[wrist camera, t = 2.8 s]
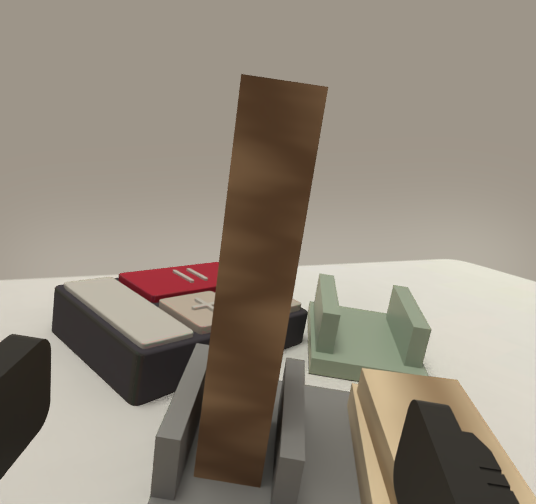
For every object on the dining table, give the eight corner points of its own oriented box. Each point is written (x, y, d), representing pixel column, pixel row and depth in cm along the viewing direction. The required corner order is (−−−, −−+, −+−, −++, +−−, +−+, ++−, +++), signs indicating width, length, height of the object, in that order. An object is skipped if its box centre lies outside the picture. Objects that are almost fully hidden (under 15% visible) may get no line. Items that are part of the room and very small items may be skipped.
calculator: (312, 302, 38) (141, 342, 27) (301, 353, 39) (132, 411, 28) (219, 257, 45) (52, 274, 34) (212, 301, 46) (49, 332, 35)
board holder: (308, 373, 34) (319, 317, 33) (307, 313, 44) (315, 269, 43) (424, 392, 34) (439, 336, 33) (398, 328, 44) (408, 283, 42)
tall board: (193, 476, 22) (241, 74, 17) (212, 410, 27) (254, 79, 22) (260, 487, 22) (328, 86, 17) (268, 419, 27) (322, 89, 22)
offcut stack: (368, 554, 20) (384, 492, 19) (347, 405, 29) (356, 360, 28) (526, 580, 20) (550, 520, 19) (453, 422, 29) (466, 377, 28)
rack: (128, 572, 19) (135, 482, 18) (198, 384, 31) (205, 323, 30) (555, 646, 18) (593, 559, 17) (454, 426, 31) (471, 366, 30)
